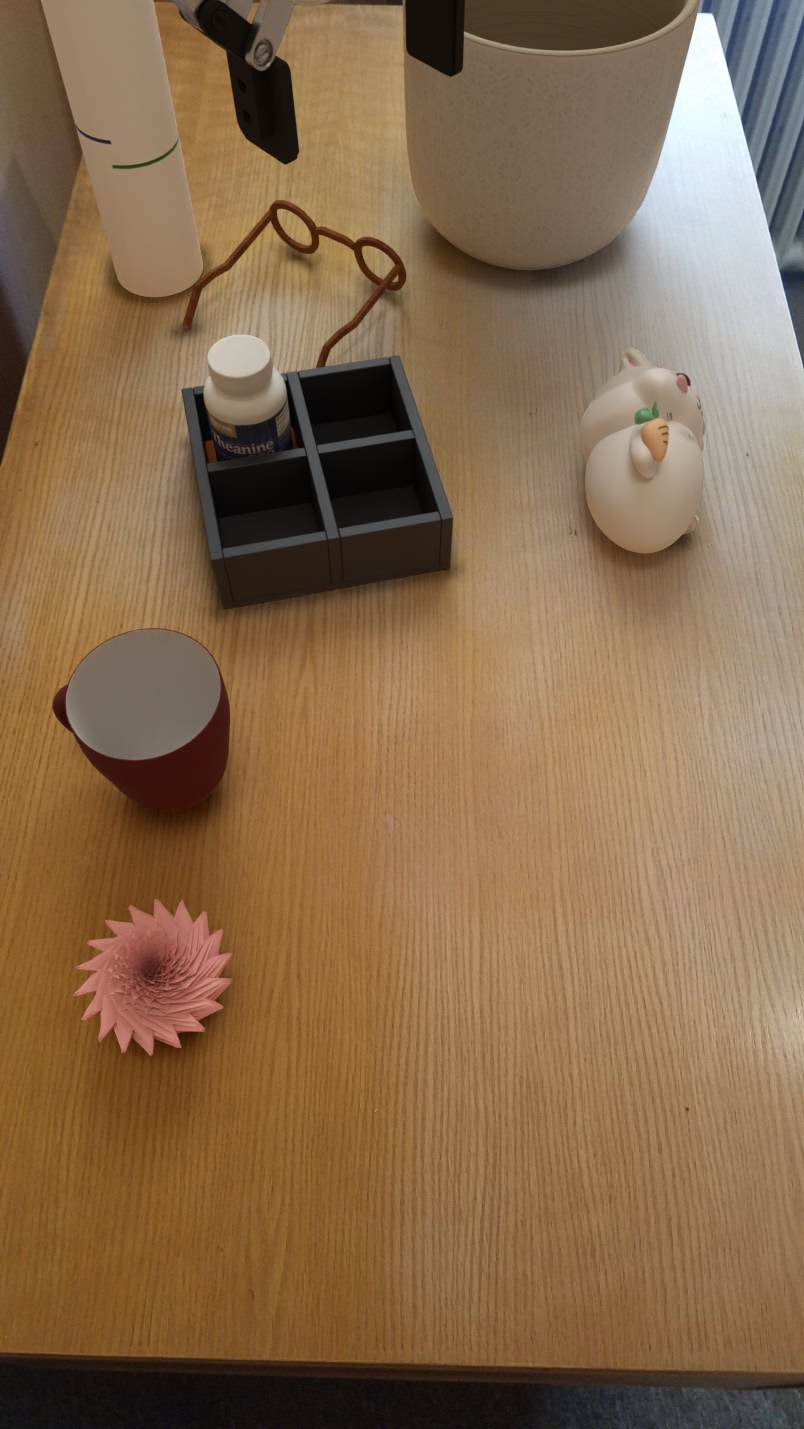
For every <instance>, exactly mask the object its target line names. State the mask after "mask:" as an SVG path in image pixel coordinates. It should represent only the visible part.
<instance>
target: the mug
mask: <svg viewBox="0 0 804 1429" xmlns="http://www.w3.org/2000/svg"><path fill="white" fill-rule="evenodd" d="M230 705H231V704H230V700H229V695H228V691H227V687H226V683H225V680H224V678H223V675H222V672H221V669H220V667H219V664H218V662H217V660H216V658H215V657H214V656H213V654H212V653H211V652H210V651H209V649H208V648H207V647H205V646H204V645H203V644H202V643H201V642H200V641H198V640H197V639H195V638H193V637H192V636H190V635H188V634H185V633H183V632H180V631H176V630H173V629H167V628H161V627H160V628H158V627H148V628H139V629H138V628H137V629H133V630H129V631H126V632H123V633H119V634H117V635H115V636H112V637H110V638H108V639H106V640H105V641H103V642H101V643H100V644H98V645H97V646H95V647H94V648H92V649H91V650H90V651H89V652H88V653H87V654H86V655H85V656H84V657H83V658H82V659H81V660H80V662H79V663H78V664H77V666H76V667H75V669H74V670H73V672H72V674H71V675H70V678H69V680H68V682H67V684H65V685H63V686H62V687H61V688H59V689H58V691H57V692H56V693H55V695H54V697H53V699H52V706H51V708H52V711H53V714H54V716H55V718H56V719H57V720H58V722H59V723H60V724H61V725H62V726H63V727H64V728H65V729H66V730H68V731H69V732H70V733H71V734H72V735H73V736H74V739H75V741H76V742H77V745H78V746H79V747H80V750H81V751H82V753H83V754H84V756H85V757H86V759H87V760H88V762H89V763H90V764H91V765H92V766H93V767H94V768H95V769H96V770H97V771H98V772H99V773H100V774H101V775H102V776H104V778H106V780H108V781H109V783H111V784H112V785H113V786H114V787H116V788H117V789H118V790H119V791H120V792H121V793H123V794H124V795H125V796H126V797H127V798H129V799H130V800H131V801H132V802H134V803H136V804H138V805H140V806H142V807H144V808H147V809H150V810H154V811H160V812H178V811H183V810H187V809H190V808H192V807H194V806H197V805H198V804H200V803H201V802H203V801H204V800H205V799H207V798H208V796H210V795H211V794H212V793H213V792H214V791H215V790H216V788H217V787H218V786H219V784H220V782H221V781H222V779H223V777H224V775H225V772H226V769H227V766H228V762H229V753H230V733H231V706H230Z"/></svg>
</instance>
